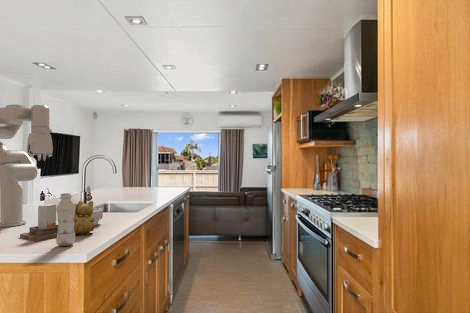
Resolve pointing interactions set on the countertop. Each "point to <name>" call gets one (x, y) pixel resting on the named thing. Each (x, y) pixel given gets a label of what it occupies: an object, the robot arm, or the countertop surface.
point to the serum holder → (40, 233)
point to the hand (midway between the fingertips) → (40, 168)
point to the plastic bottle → (65, 220)
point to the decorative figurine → (83, 218)
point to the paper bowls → (97, 214)
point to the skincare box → (46, 216)
